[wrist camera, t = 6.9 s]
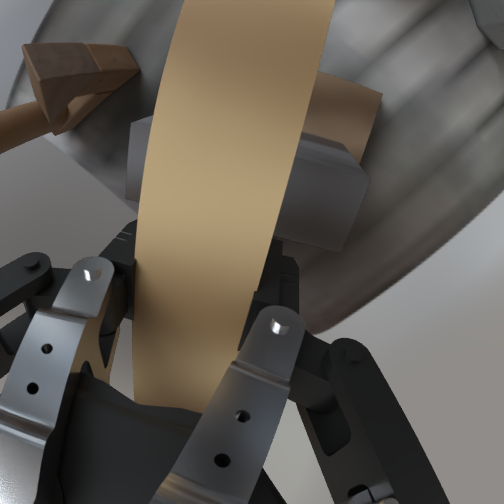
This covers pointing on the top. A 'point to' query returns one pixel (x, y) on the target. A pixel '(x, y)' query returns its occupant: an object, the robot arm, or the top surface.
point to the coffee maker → (490, 19)
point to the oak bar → (216, 185)
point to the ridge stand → (308, 164)
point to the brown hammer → (64, 88)
